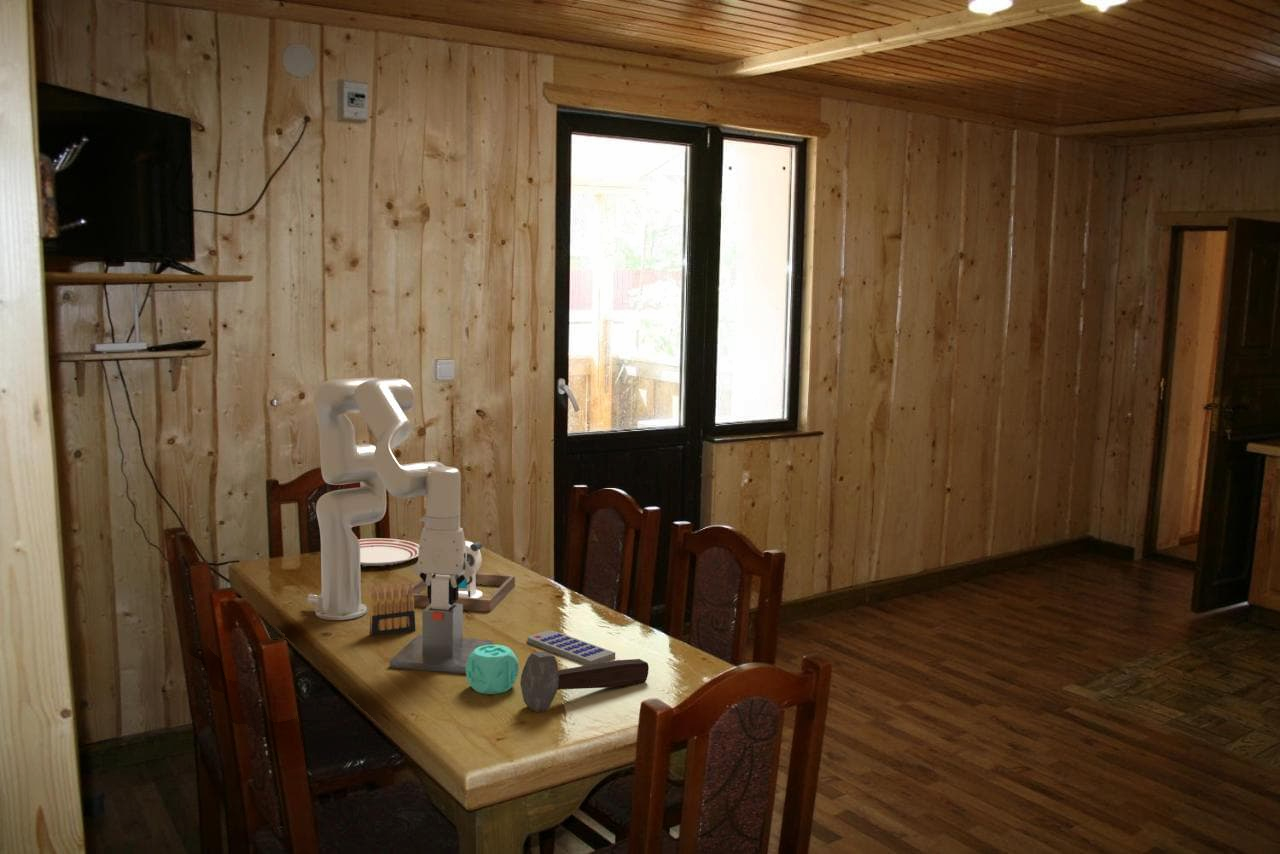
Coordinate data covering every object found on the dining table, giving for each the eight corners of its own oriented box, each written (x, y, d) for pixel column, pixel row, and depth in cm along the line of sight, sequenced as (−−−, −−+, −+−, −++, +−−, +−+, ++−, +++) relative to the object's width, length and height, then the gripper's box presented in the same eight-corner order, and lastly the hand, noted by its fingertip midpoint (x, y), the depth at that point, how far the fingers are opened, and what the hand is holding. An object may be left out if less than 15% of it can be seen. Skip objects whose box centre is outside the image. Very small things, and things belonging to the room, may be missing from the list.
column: (430, 649, 236) (431, 578, 234) (437, 643, 240) (437, 573, 238) (448, 651, 235) (448, 579, 233) (454, 645, 239) (454, 574, 237)
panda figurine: (430, 598, 281) (430, 543, 279) (449, 587, 292) (449, 534, 290) (471, 603, 278) (472, 548, 276) (489, 591, 288) (489, 538, 286)
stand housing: (389, 667, 230) (389, 616, 229) (418, 640, 248) (418, 593, 247) (468, 674, 228) (469, 622, 226) (492, 646, 245) (493, 598, 244)
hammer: (633, 693, 230) (517, 706, 211) (640, 642, 229) (524, 651, 210) (647, 700, 226) (530, 714, 207) (654, 648, 225) (537, 658, 206)
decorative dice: (490, 697, 215) (490, 660, 214) (464, 687, 221) (465, 650, 219) (519, 687, 221) (519, 650, 220) (493, 677, 227) (494, 641, 226)
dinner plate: (442, 557, 323) (442, 547, 323) (375, 576, 301) (375, 565, 300) (378, 543, 338) (378, 533, 338) (310, 561, 315) (310, 550, 315)
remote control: (590, 669, 234) (590, 659, 234) (523, 643, 250) (524, 634, 249) (615, 660, 240) (615, 651, 240) (548, 635, 255) (549, 626, 255)
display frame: (401, 604, 275) (401, 593, 274) (432, 580, 298) (432, 569, 298) (490, 611, 271) (490, 600, 271) (515, 585, 295) (515, 575, 294)
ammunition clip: (371, 636, 250) (371, 587, 248) (369, 634, 251) (369, 585, 250) (415, 631, 255) (415, 582, 253) (413, 628, 256) (413, 580, 255)
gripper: (400, 524, 231) (401, 604, 234) (474, 528, 229) (473, 610, 231) (413, 516, 239) (413, 595, 241) (484, 521, 236) (483, 600, 239)
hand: (442, 601), depth 236 cm, fingers closed on column, 4 cm apart
